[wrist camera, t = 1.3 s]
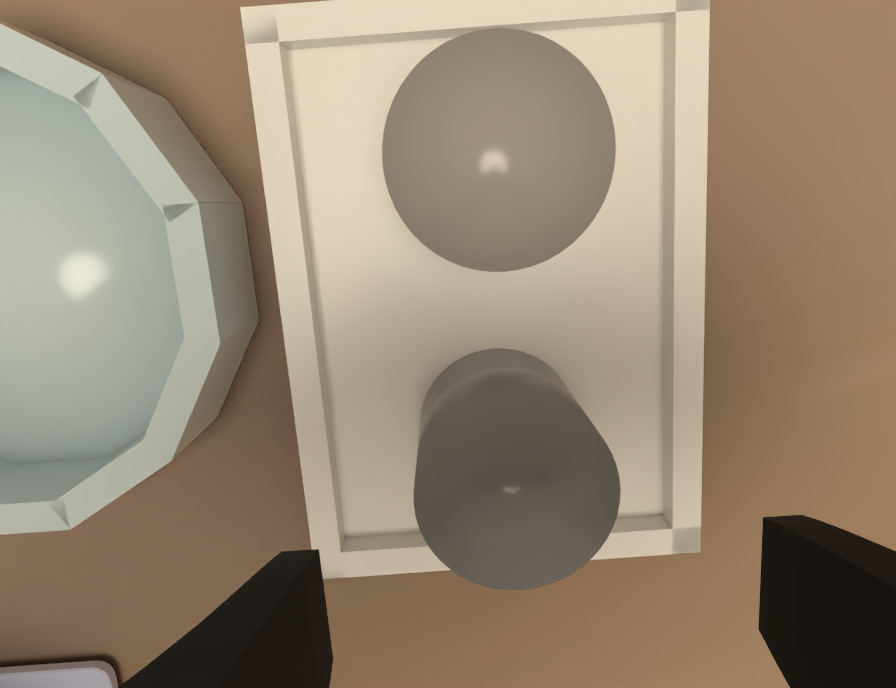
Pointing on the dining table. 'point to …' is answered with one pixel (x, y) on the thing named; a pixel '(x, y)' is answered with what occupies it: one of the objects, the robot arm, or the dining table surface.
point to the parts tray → (473, 291)
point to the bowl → (106, 285)
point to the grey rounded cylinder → (498, 149)
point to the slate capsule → (511, 473)
